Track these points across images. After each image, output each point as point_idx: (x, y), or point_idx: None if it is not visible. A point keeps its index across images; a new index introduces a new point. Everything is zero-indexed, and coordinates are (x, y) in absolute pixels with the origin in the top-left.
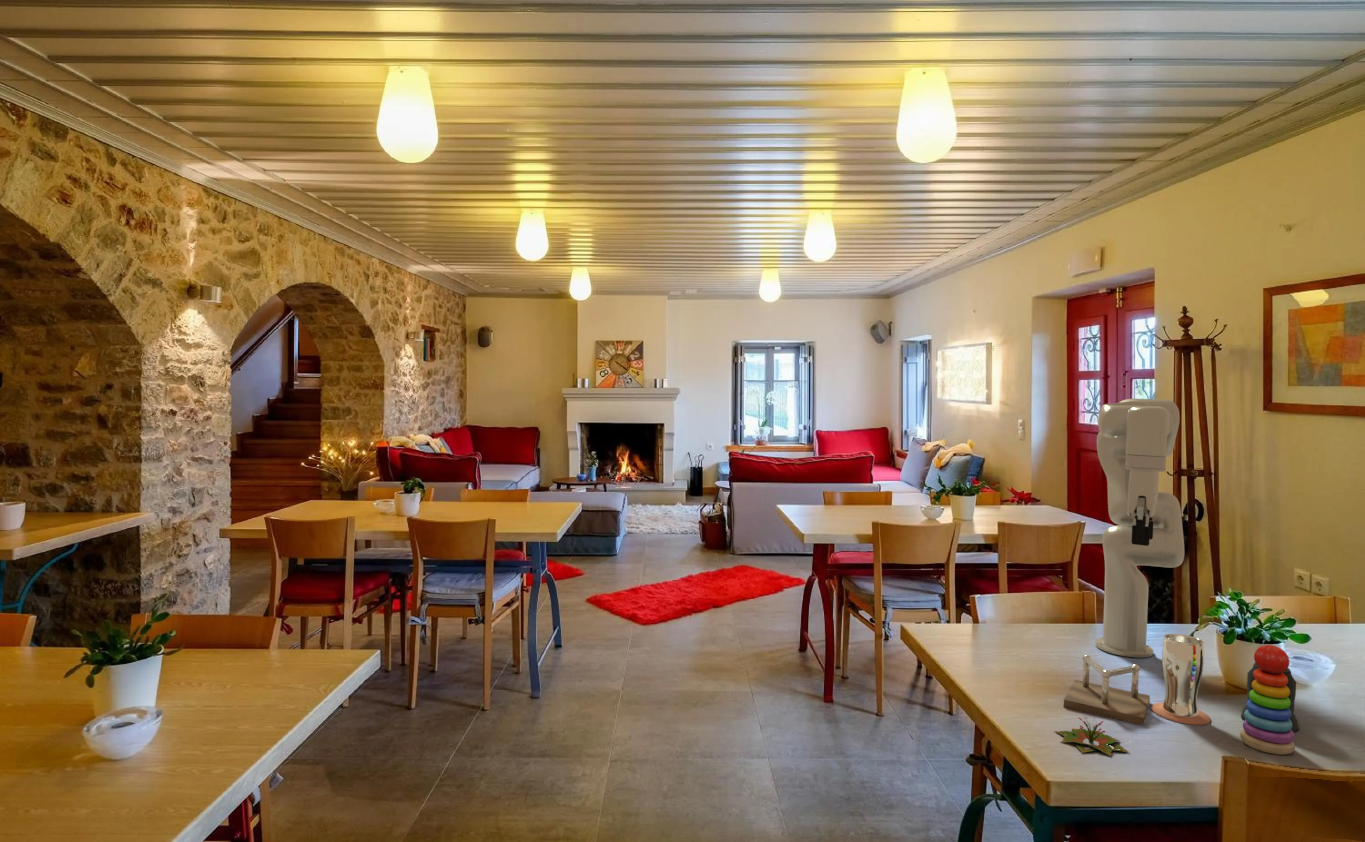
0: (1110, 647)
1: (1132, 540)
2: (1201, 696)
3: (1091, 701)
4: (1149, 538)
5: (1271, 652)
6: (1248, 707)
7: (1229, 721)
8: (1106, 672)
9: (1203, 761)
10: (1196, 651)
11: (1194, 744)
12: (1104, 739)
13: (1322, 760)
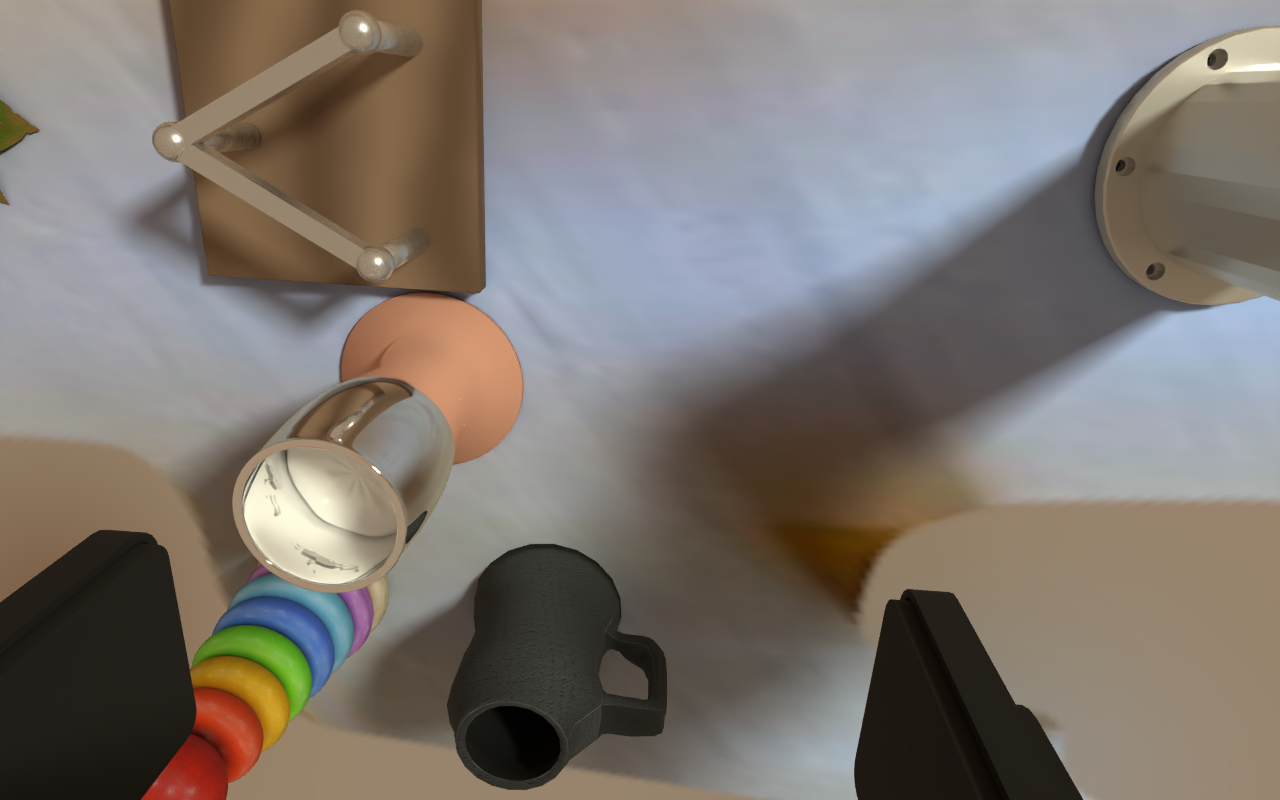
0: (1166, 110)
1: (67, 564)
2: (688, 451)
3: (233, 82)
4: (859, 755)
5: None
6: (241, 603)
7: (476, 511)
8: (153, 145)
9: (66, 423)
10: (278, 545)
11: (182, 408)
12: None
13: (329, 678)
